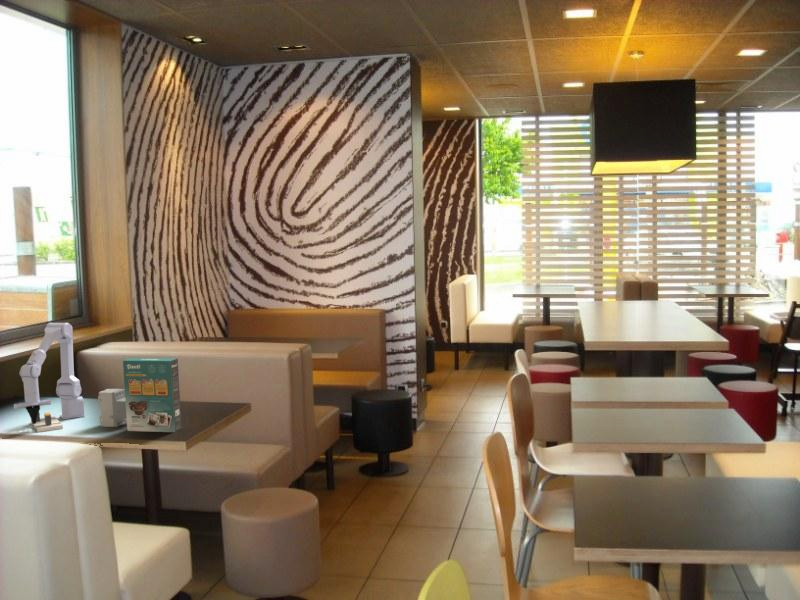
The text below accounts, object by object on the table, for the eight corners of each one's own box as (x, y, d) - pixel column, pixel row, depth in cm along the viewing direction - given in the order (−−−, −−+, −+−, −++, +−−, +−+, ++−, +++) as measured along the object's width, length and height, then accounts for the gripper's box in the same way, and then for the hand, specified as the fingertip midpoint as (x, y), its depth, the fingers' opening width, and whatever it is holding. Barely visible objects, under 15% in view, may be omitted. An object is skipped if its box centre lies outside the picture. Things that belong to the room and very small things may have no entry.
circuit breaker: (130, 427, 366) (128, 392, 364) (100, 426, 369) (97, 392, 367) (139, 422, 373) (137, 389, 372) (109, 422, 376) (107, 388, 374)
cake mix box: (181, 428, 360) (177, 358, 357) (174, 432, 354) (170, 360, 351) (134, 427, 365) (130, 358, 362) (127, 430, 359) (122, 360, 356)
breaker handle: (49, 422, 371) (49, 412, 370) (51, 424, 367) (50, 414, 367) (45, 423, 370) (44, 413, 369) (46, 425, 366) (45, 414, 366)
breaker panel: (55, 419, 384) (54, 407, 383) (62, 428, 367) (61, 416, 366) (31, 423, 379) (30, 411, 378) (37, 432, 362) (36, 419, 361)
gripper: (14, 396, 357) (16, 427, 358) (51, 391, 364) (53, 422, 366) (12, 393, 363) (14, 424, 364) (48, 388, 370) (50, 419, 372)
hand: (34, 423), depth 365 cm, fingers closed
